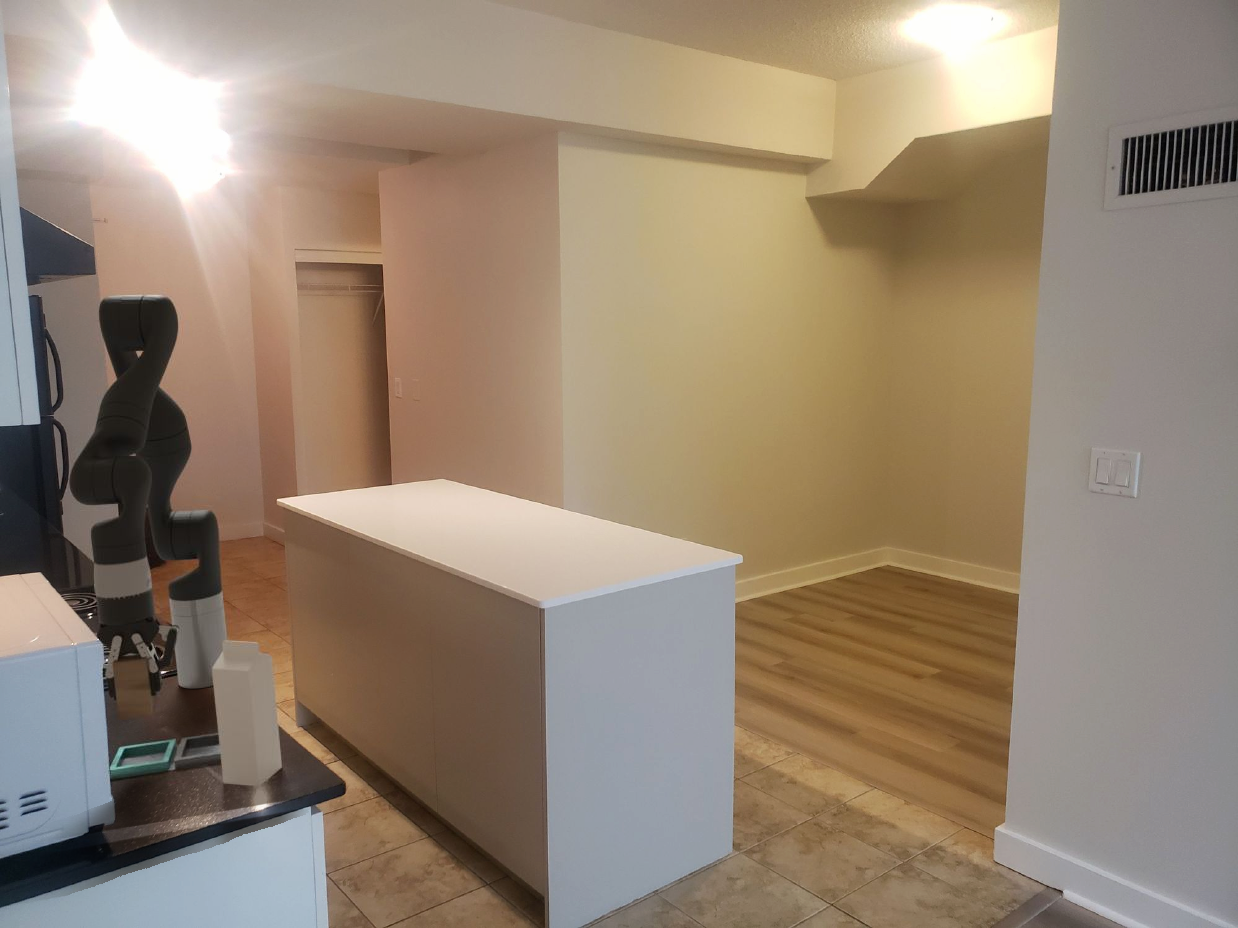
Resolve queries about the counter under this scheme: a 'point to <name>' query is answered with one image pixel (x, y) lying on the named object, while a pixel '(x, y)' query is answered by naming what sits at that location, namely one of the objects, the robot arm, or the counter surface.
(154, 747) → the trays
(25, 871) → the counter surface
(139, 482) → the robot arm
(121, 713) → the walnut block
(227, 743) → the milk
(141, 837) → the counter surface
